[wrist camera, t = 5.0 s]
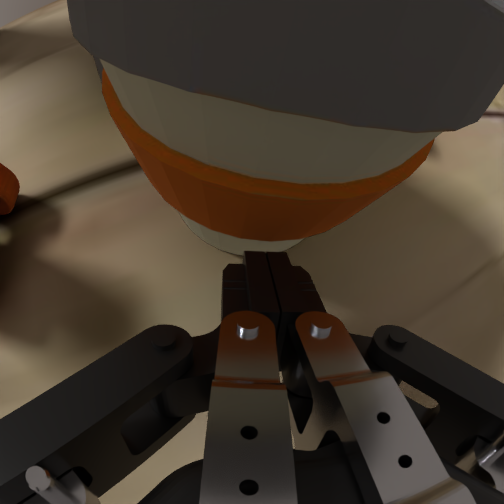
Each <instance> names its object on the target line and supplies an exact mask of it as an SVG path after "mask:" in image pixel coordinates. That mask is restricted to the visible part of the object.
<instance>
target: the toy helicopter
mask: <svg viewBox="0 0 504 504" xmlns="http://www.w3.org/2000/svg"><path fill="white" fill-rule="evenodd" d="M19 188H20V185H19V181H18V179H17V177H16V176H15V175H14V173H13V172H12V171H11V170H9V169H8V168H7V167H5V166H4V165H2V164H1V163H0V215H5V214H8V213H10V212H11V211H12V209H13V208H14V205H15V202H16V199H17V196H18V193H19Z"/></svg>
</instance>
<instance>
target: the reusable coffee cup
mask: <svg viewBox="0 0 504 504" xmlns="http://www.w3.org/2000/svg"><path fill="white" fill-rule="evenodd" d="M67 4H68V12H69V19H70V24H71V28H72V32H73V36H74V37H75V38H76V39H77V40H78V42H79V43H80V44H81V45H82V46H83V47H84V48H85V49H86V50H87V51H88V52H89V53H90V54H91V55H93V56H95V57H97V58H99V59H100V61H101V63H102V65H103V67H104V68H103V71H102V93H103V96H104V99H105V101H106V104H107V107H108V109H109V112H110V115H111V117H112V118H113V120H114V122H115V124H116V125H117V127H118V129H119V130H120V132H121V134H122V136H123V137H124V139H125V141H126V142H127V144H128V146H129V148H130V149H131V151H132V153H133V154H134V156H135V158H136V159H137V161H138V163H139V164H140V166H141V167H142V169H143V171H144V172H145V174H146V176H147V177H148V179H149V181H150V182H151V183H152V185H153V186H154V187H155V188H156V190H157V191H158V192H159V193H160V195H161V196H162V197H163V198H164V200H165V201H166V202H168V203H169V204H170V205H171V206H173V207H174V208H175V209H177V210H178V211H179V213H180V215H181V217H182V219H183V220H184V222H185V223H186V224H187V225H188V227H189V228H190V229H191V230H192V231H193V233H195V234H196V235H197V236H198V237H200V238H201V239H202V240H203V241H205V242H206V243H208V244H210V245H212V246H214V247H216V248H218V249H220V250H222V251H226V252H229V253H233V254H236V255H243V252H244V251H264V252H266V251H269V252H281V251H284V250H286V249H288V248H290V247H292V246H294V245H296V244H298V243H299V242H300V241H302V240H303V239H304V238H306V237H309V236H313V235H316V234H320V233H323V232H326V231H327V230H329V229H331V228H333V227H335V226H337V225H338V224H340V223H342V222H344V221H346V220H347V219H349V218H350V217H352V216H353V215H354V214H356V213H357V212H359V211H360V210H362V209H363V208H365V207H366V206H368V205H369V204H371V203H372V202H373V201H375V200H376V199H378V198H379V197H381V196H382V195H384V194H385V193H386V192H388V191H389V190H391V189H392V188H394V187H395V186H397V185H398V184H399V183H401V182H402V181H404V180H405V179H407V178H408V177H409V176H410V175H411V174H412V173H413V172H414V171H415V170H416V169H417V168H418V167H419V166H420V165H421V164H422V163H423V162H424V161H425V160H426V158H427V156H428V154H429V152H430V149H431V147H432V145H433V142H434V139H435V137H437V136H438V135H439V134H441V133H442V132H444V131H456V130H458V129H461V128H463V127H466V126H468V125H470V124H473V123H475V122H478V120H479V119H480V118H481V116H482V115H483V113H484V112H485V111H486V109H487V108H488V107H489V105H490V104H491V102H492V101H493V99H494V98H495V96H496V95H497V93H498V92H499V90H500V89H501V87H502V86H503V84H504V0H67Z"/></svg>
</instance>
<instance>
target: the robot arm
mask: <svg viewBox="0 0 504 504" xmlns="http://www.w3.org/2000/svg"><path fill="white" fill-rule="evenodd" d="M279 371H282V376H283V379H282V383H280V378H279ZM402 380H403V381H404V382H406V383H408V384H409V385H411V386H413V387H414V388H416V389H418V390H419V391H421V392H423V393H425V394H426V395H428V396H430V397H431V398H433V399H435V400H436V401H437V402H438V403H439V404H438V405H437V406H436V407H435V408H431V409H430V408H425V407H424V406H422V405H420V404H418V403H417V402H415V401H413V400H412V399H410V398H408V397H407V396H405V395H404V394H403V393H402V392H401V390H400V388H399V387H398V386H399V384H400V383H401V381H402ZM205 411H209V412H208V421H207V430H206V439H205V449H204V459H201V460H198V461H194V462H192V463H190V464H187V465H185V466H183V467H181V468H179V469H177V470H176V471H174V472H173V473H171V474H170V475H169V476H167V477H166V478H165V479H164V480H162V481H161V482H160V483H159V484H158V485H157V486H156V487H155V488H154V489H153V490H152V491H151V492H150V493H148V494H147V495H146V496H145V497H144V498H143V499H142V500H141V501H140V502H139V503H137V504H504V384H503V383H501V382H500V381H498V380H496V379H494V378H492V377H491V376H489V375H487V374H485V373H483V372H482V371H480V370H478V369H476V368H475V367H473V366H471V365H469V364H467V363H466V362H464V361H462V360H460V359H458V358H457V357H455V356H453V355H451V354H449V353H448V352H446V351H444V350H442V349H440V348H439V347H437V346H435V345H433V344H431V343H430V342H428V341H426V340H424V339H422V338H421V337H419V336H417V335H415V334H413V333H411V332H410V331H408V330H406V329H404V328H402V327H399V326H395V325H384V326H381V327H379V328H378V329H376V331H375V333H374V335H373V338H372V337H366V336H361V335H355V334H351V333H348V331H347V329H346V328H345V326H344V324H343V323H342V322H341V321H340V320H339V319H338V318H336V317H335V316H333V315H331V314H328V313H327V312H326V310H325V308H324V305H323V303H322V301H321V299H320V296H319V294H318V292H317V291H316V288H315V285H314V284H313V281H312V279H311V277H310V274H309V273H308V272H307V271H305V270H304V269H303V268H302V267H301V266H292V265H291V263H290V260H289V258H288V255H287V253H286V252H269V251H266V252H264V251H244V252H243V262H242V264H228V265H227V266H226V268H225V269H224V270H223V276H222V300H221V324H220V325H219V326H218V327H217V328H216V329H215V330H214V331H212V332H210V333H207V334H205V335H201V336H196V337H191V336H190V334H189V333H188V332H187V331H185V330H184V329H182V328H180V327H177V326H173V325H156V326H153V327H150V328H148V329H146V330H144V331H143V332H141V333H139V334H138V335H136V336H135V337H133V338H131V339H130V340H128V341H127V342H125V343H123V344H122V345H120V346H119V347H117V348H115V349H114V350H112V351H111V352H109V353H107V354H106V355H104V356H103V357H101V358H99V359H98V360H96V361H94V362H93V363H91V364H90V365H88V366H86V367H85V368H83V369H82V370H80V371H78V372H77V373H75V374H74V375H72V376H70V377H69V378H67V379H65V380H64V381H62V382H61V383H59V384H57V385H56V386H54V387H52V388H51V389H49V390H48V391H46V392H44V393H43V394H41V395H39V396H38V397H36V398H34V399H33V400H31V401H30V402H28V403H26V404H25V405H23V406H21V407H20V408H18V409H16V410H15V411H13V412H12V413H10V414H8V415H7V416H5V417H3V418H2V419H0V504H101V503H100V501H99V499H98V498H99V497H100V496H101V495H103V494H104V493H105V492H107V491H108V490H109V489H111V488H112V487H113V486H115V485H116V484H117V483H118V482H120V481H121V480H122V479H124V478H125V477H126V476H127V475H129V474H130V473H131V472H132V471H134V470H135V469H136V468H137V467H138V466H140V465H141V464H142V463H143V462H145V461H146V460H147V459H148V458H149V457H151V456H152V455H153V454H154V453H155V452H156V451H158V450H159V449H160V448H161V447H162V446H164V445H165V444H166V443H167V442H168V441H169V440H170V439H172V438H173V437H174V436H175V435H176V434H177V433H178V432H180V431H181V430H182V429H183V428H184V427H185V426H186V425H187V424H188V423H190V422H191V421H192V420H193V419H194V417H195V415H196V414H197V413H201V412H205ZM291 430H292V434H293V437H294V442H295V449H293V447H292V436H291Z"/></svg>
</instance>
